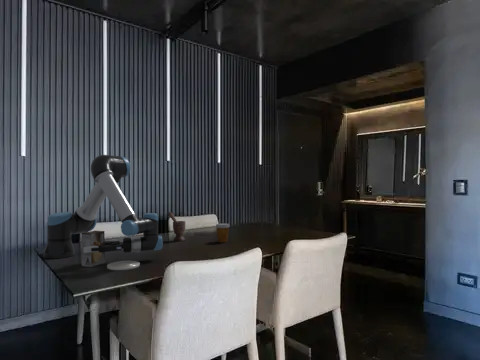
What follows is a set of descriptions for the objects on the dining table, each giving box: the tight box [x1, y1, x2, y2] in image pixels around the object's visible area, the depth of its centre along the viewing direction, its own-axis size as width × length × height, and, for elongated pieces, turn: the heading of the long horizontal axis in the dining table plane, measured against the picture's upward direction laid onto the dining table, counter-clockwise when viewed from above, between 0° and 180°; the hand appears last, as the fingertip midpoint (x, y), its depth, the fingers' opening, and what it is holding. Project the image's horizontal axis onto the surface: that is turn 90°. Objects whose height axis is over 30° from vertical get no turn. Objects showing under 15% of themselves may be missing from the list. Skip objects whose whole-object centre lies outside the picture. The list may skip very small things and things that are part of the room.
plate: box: [106, 260, 141, 271], centre depth 167 cm, size 15×15×1 cm
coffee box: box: [80, 230, 106, 268], centre depth 170 cm, size 9×6×16 cm
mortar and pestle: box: [167, 211, 186, 242], centre depth 238 cm, size 12×9×20 cm
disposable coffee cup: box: [215, 222, 230, 243], centre depth 235 cm, size 10×10×12 cm
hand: (83, 247), depth 169 cm, fingers closed on coffee box, 10 cm apart
